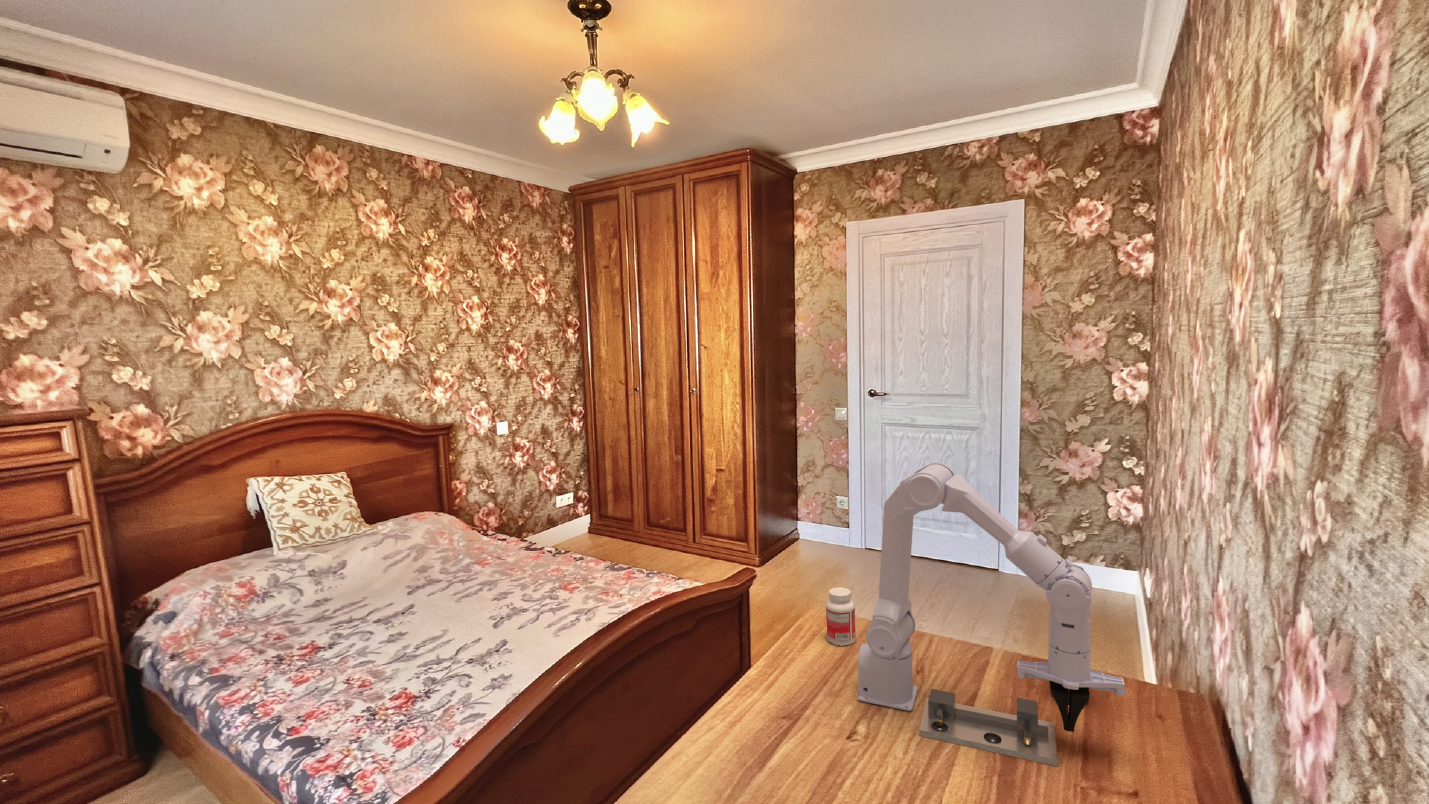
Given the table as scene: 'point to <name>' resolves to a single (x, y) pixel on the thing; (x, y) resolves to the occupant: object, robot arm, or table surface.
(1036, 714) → the sliding leg
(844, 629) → the pill bottle
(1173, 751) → the table surface
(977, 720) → the beam
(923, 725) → the hole plate
